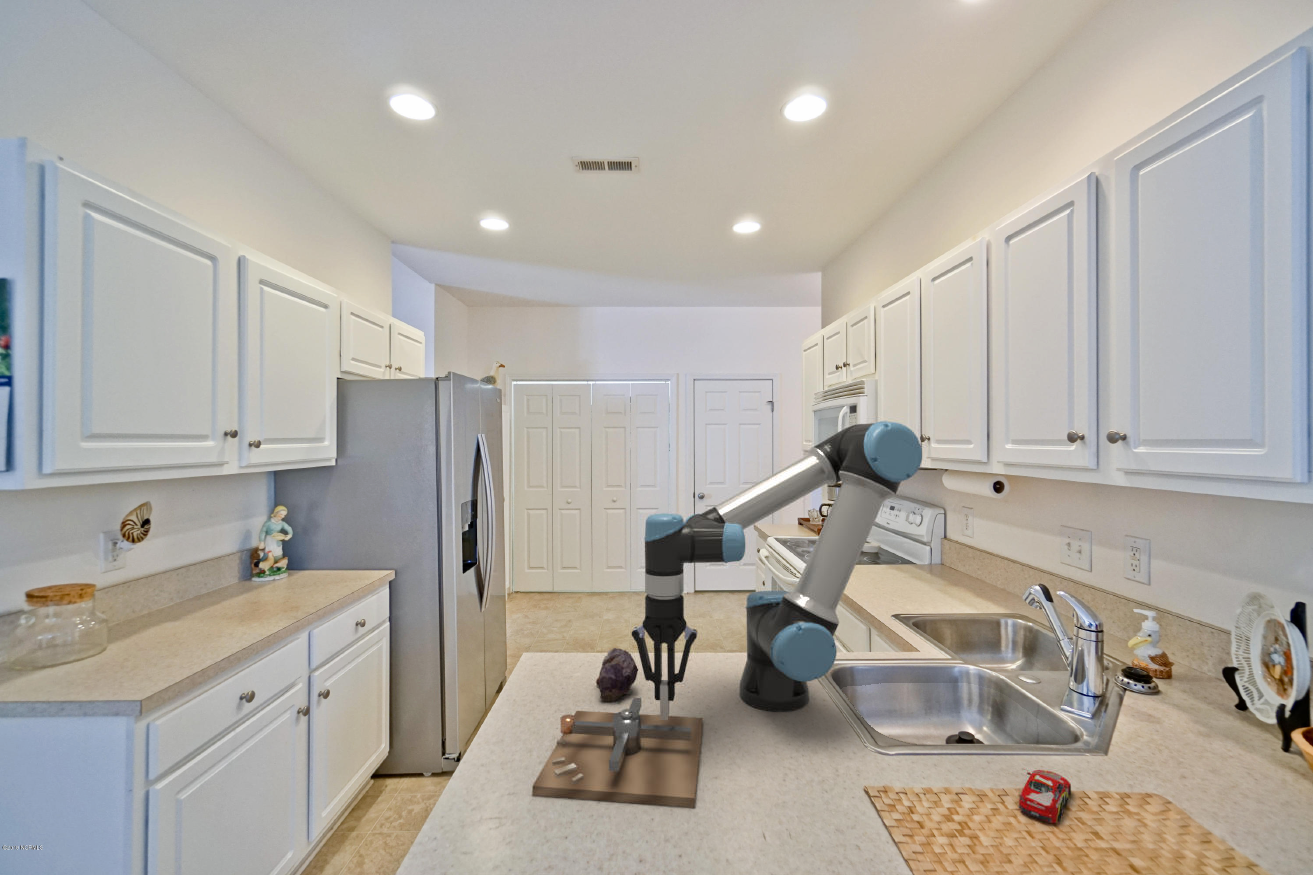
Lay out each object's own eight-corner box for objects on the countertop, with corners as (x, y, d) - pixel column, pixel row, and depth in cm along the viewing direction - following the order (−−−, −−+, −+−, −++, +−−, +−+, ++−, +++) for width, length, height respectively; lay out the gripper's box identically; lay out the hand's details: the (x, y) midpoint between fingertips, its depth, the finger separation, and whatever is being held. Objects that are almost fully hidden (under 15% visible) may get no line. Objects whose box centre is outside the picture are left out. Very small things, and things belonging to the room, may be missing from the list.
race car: (1035, 778, 94) (1035, 754, 95) (1075, 792, 90) (1074, 767, 91) (1012, 813, 85) (1012, 786, 85) (1056, 831, 81) (1055, 803, 82)
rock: (593, 708, 123) (639, 706, 123) (591, 672, 122) (638, 670, 122) (596, 678, 134) (639, 676, 135) (595, 644, 133) (637, 642, 134)
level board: (703, 725, 113) (702, 714, 113) (694, 807, 87) (694, 793, 87) (576, 717, 116) (576, 707, 116) (532, 795, 90) (532, 781, 90)
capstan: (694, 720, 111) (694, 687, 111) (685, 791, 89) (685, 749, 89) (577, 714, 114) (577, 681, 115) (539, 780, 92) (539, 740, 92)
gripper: (699, 590, 112) (699, 709, 112) (634, 588, 114) (634, 705, 114) (696, 600, 105) (697, 728, 105) (627, 598, 107) (628, 723, 106)
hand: (664, 716), depth 109 cm, fingers closed
